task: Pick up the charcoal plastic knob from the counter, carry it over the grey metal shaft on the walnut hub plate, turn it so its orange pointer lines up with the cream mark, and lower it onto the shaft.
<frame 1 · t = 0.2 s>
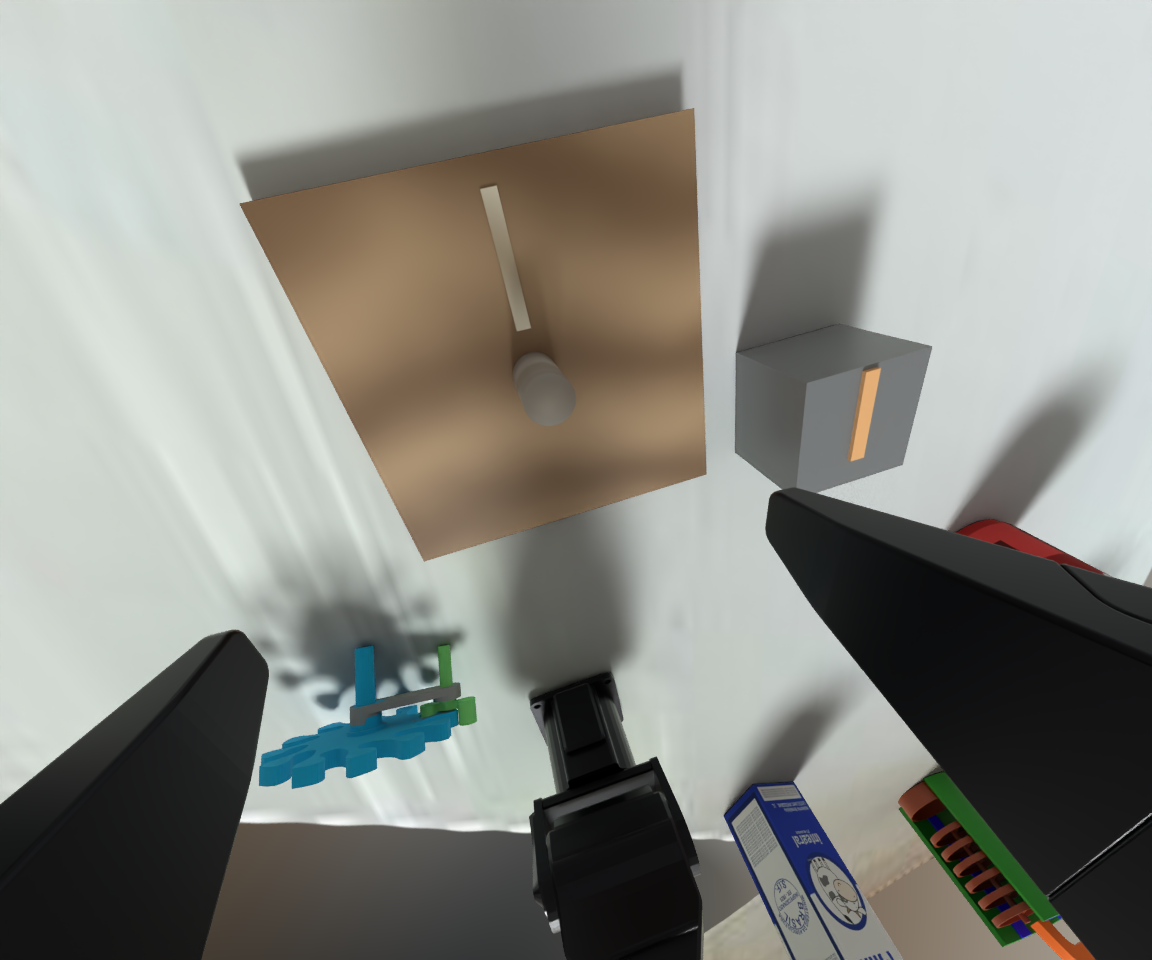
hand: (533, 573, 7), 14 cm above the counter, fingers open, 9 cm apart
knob: (784, 391, 24), on the counter
multicoloured piece: (922, 787, 67), on the counter
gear: (385, 675, 28), on the counter
milk carton: (757, 797, 53), on the counter
canned food: (961, 552, 37), on the counter
hub plate: (531, 367, 20), on the counter
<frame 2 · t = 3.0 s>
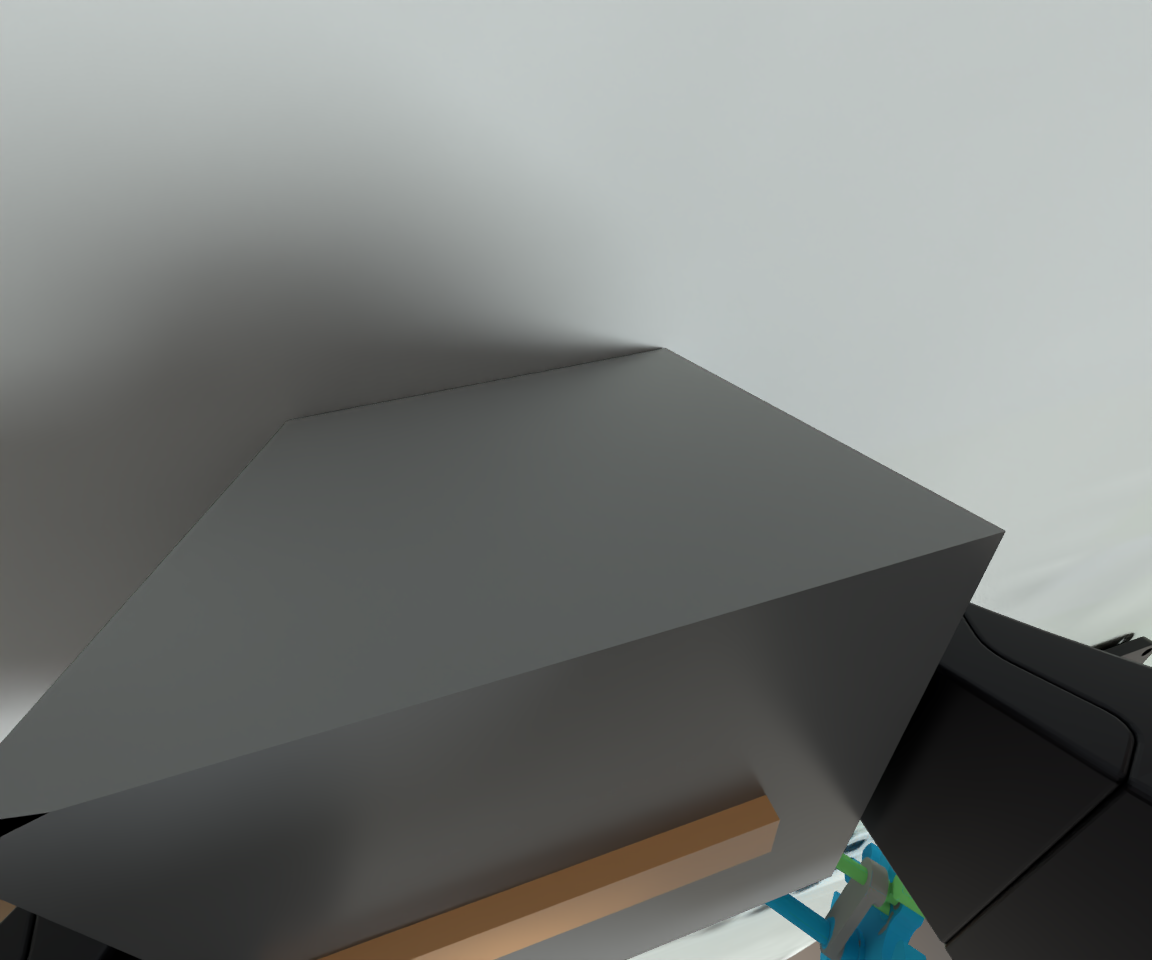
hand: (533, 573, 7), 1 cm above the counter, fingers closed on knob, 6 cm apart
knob: (523, 531, 8), on the counter, touching gripper
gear: (812, 857, 24), on the counter
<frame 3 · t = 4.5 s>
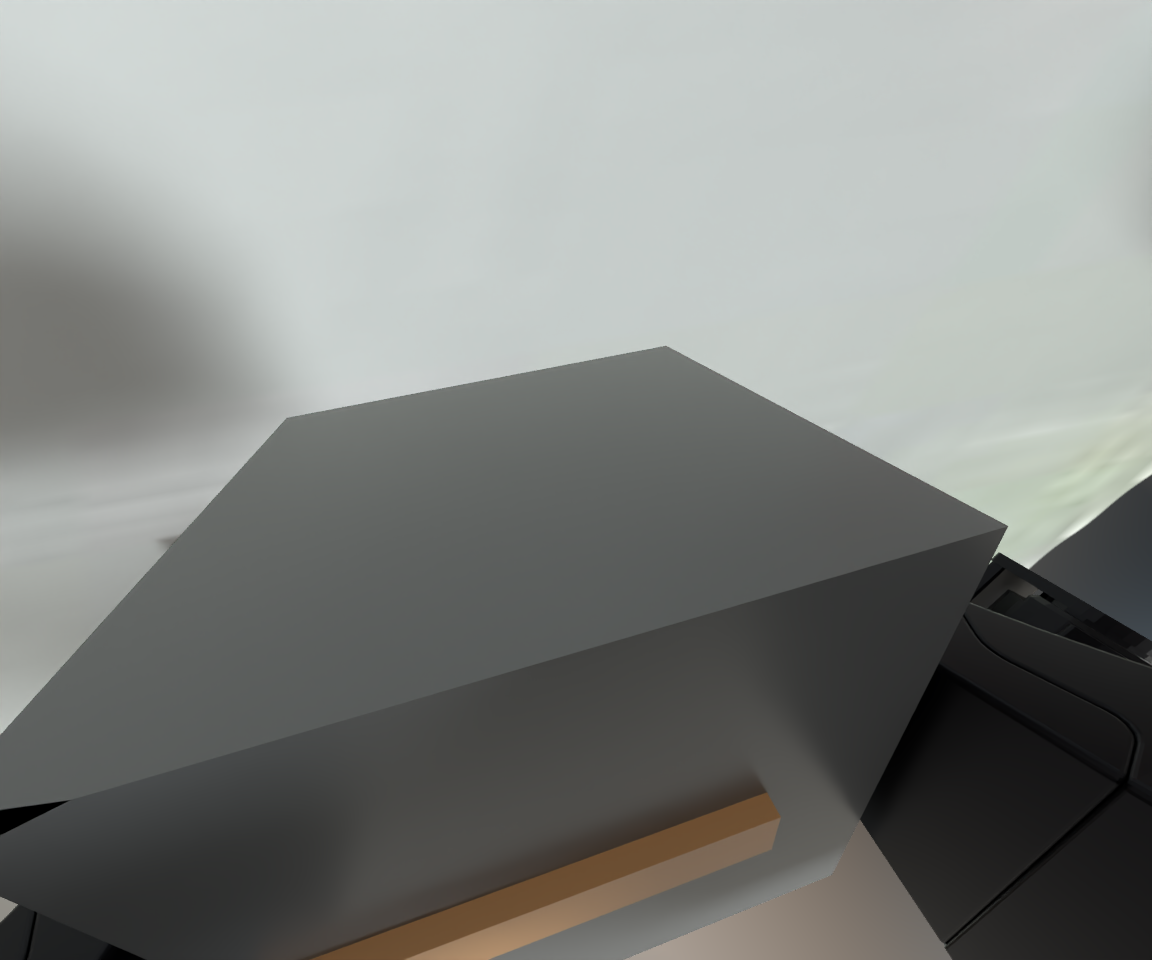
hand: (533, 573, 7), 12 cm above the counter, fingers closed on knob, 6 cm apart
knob: (523, 529, 8), point 11 cm above the counter, touching gripper
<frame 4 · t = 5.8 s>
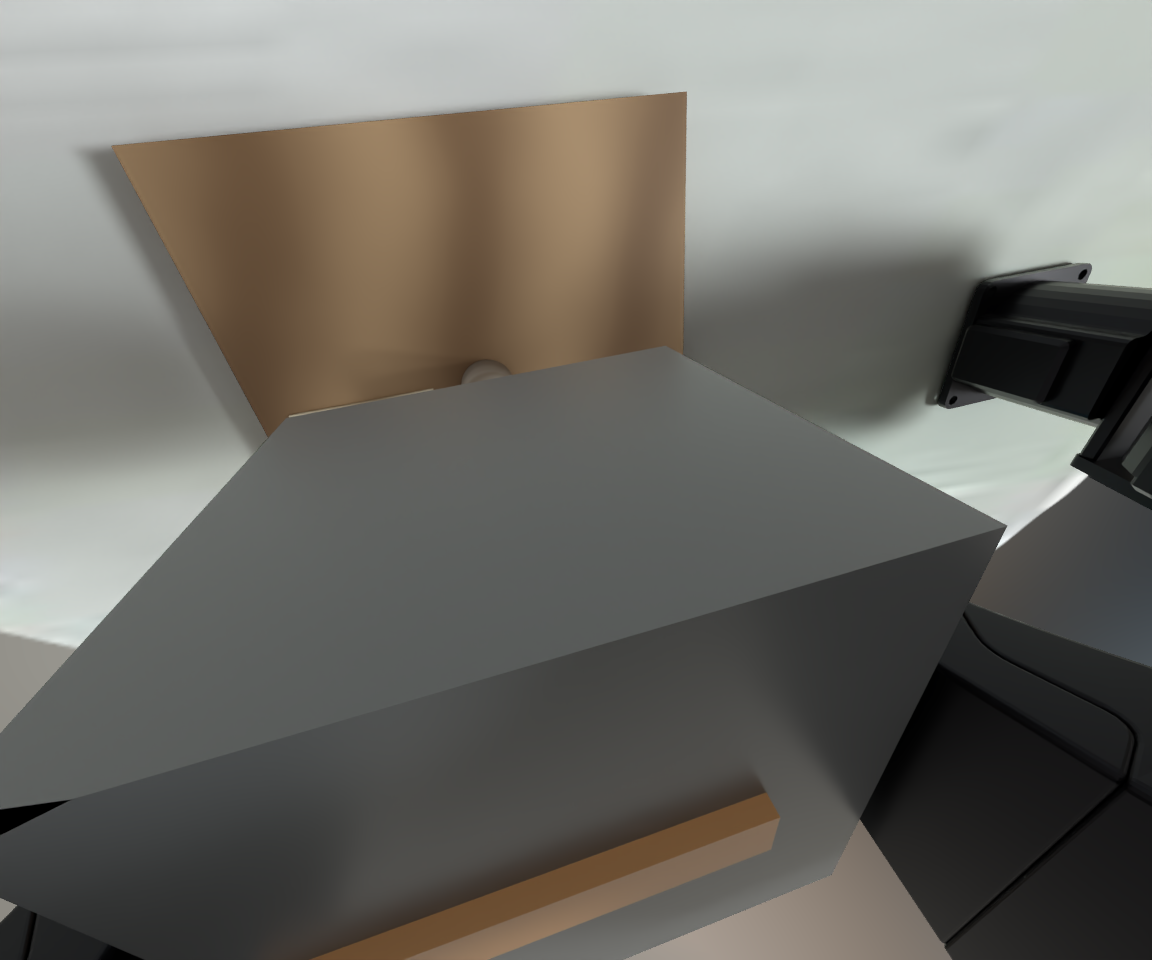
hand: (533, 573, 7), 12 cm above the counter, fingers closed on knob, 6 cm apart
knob: (522, 529, 8), point 11 cm above the counter, touching gripper
hub plate: (486, 377, 17), on the counter
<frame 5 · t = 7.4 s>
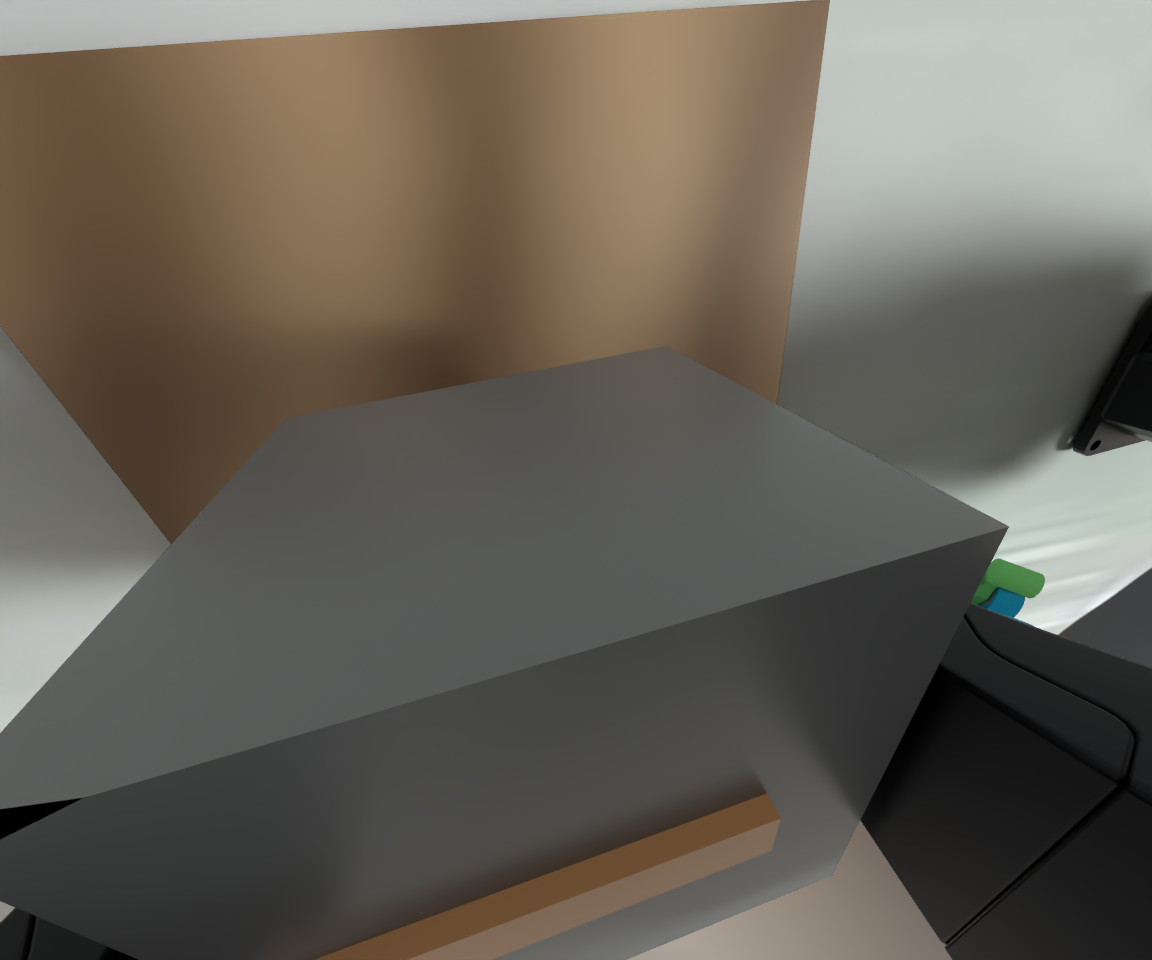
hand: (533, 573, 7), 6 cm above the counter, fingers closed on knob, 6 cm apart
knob: (522, 529, 8), point 5 cm above the counter, touching gripper
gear: (873, 608, 22), on the counter
hub plate: (498, 438, 12), on the counter
when the fingers open (3 cm above the counter, at t = 8.9 s): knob stays where it is, resting on hub plate.
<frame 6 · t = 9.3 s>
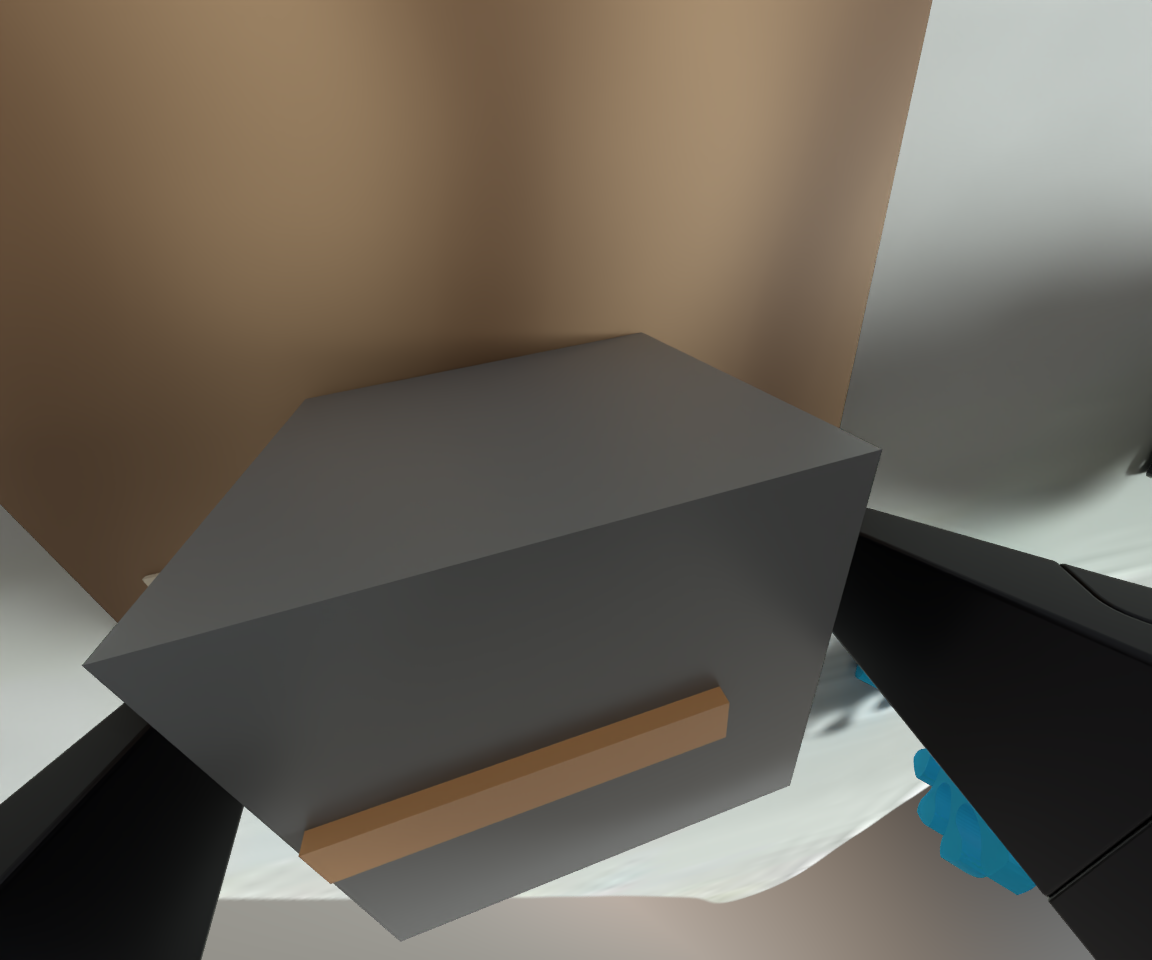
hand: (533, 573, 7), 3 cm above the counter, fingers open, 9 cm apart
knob: (517, 501, 9), point 1 cm above the counter, touching hub plate
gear: (912, 644, 20), on the counter
hub plate: (509, 476, 10), on the counter
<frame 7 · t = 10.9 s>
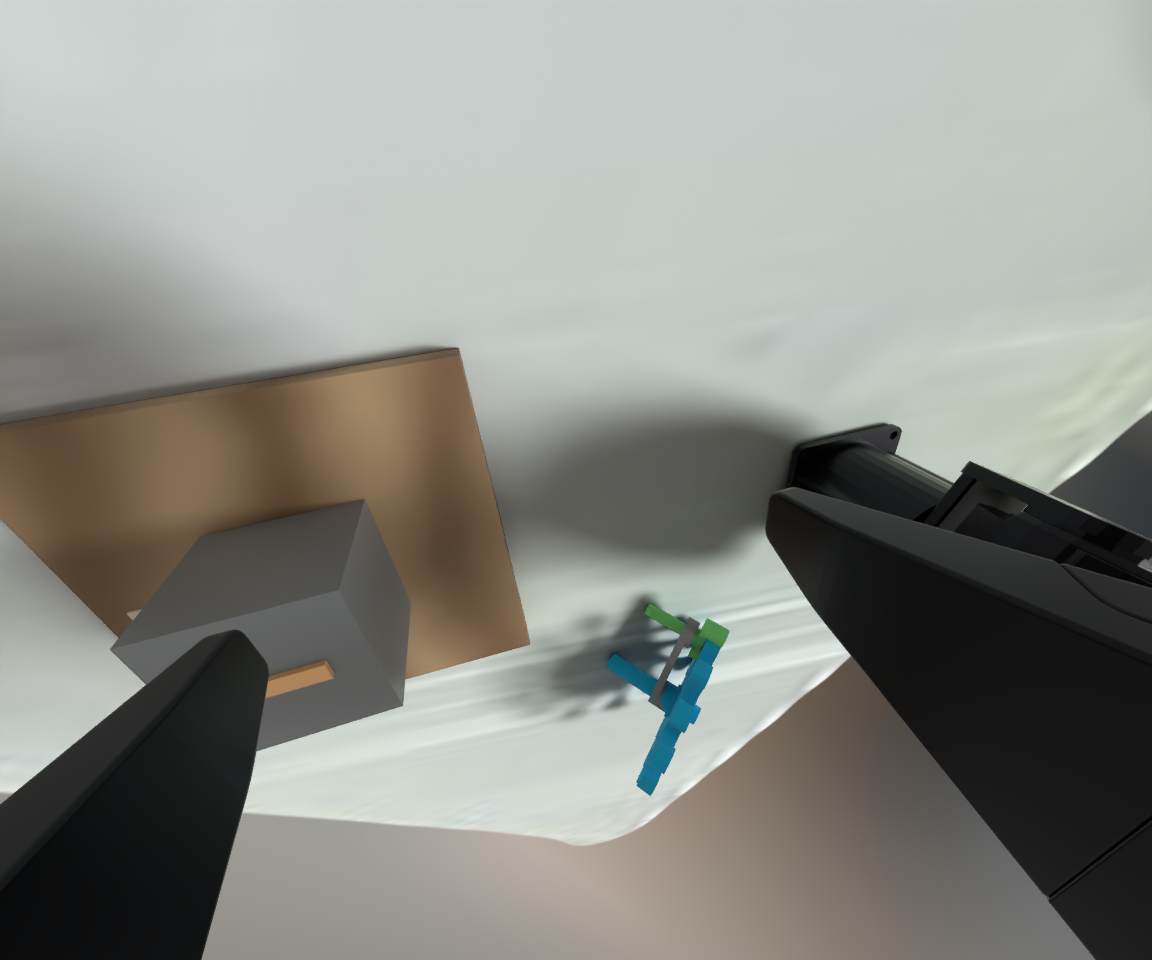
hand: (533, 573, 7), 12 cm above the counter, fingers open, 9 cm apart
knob: (317, 573, 18), point 1 cm above the counter, touching hub plate
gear: (657, 646, 29), on the counter
hub plate: (323, 556, 19), on the counter
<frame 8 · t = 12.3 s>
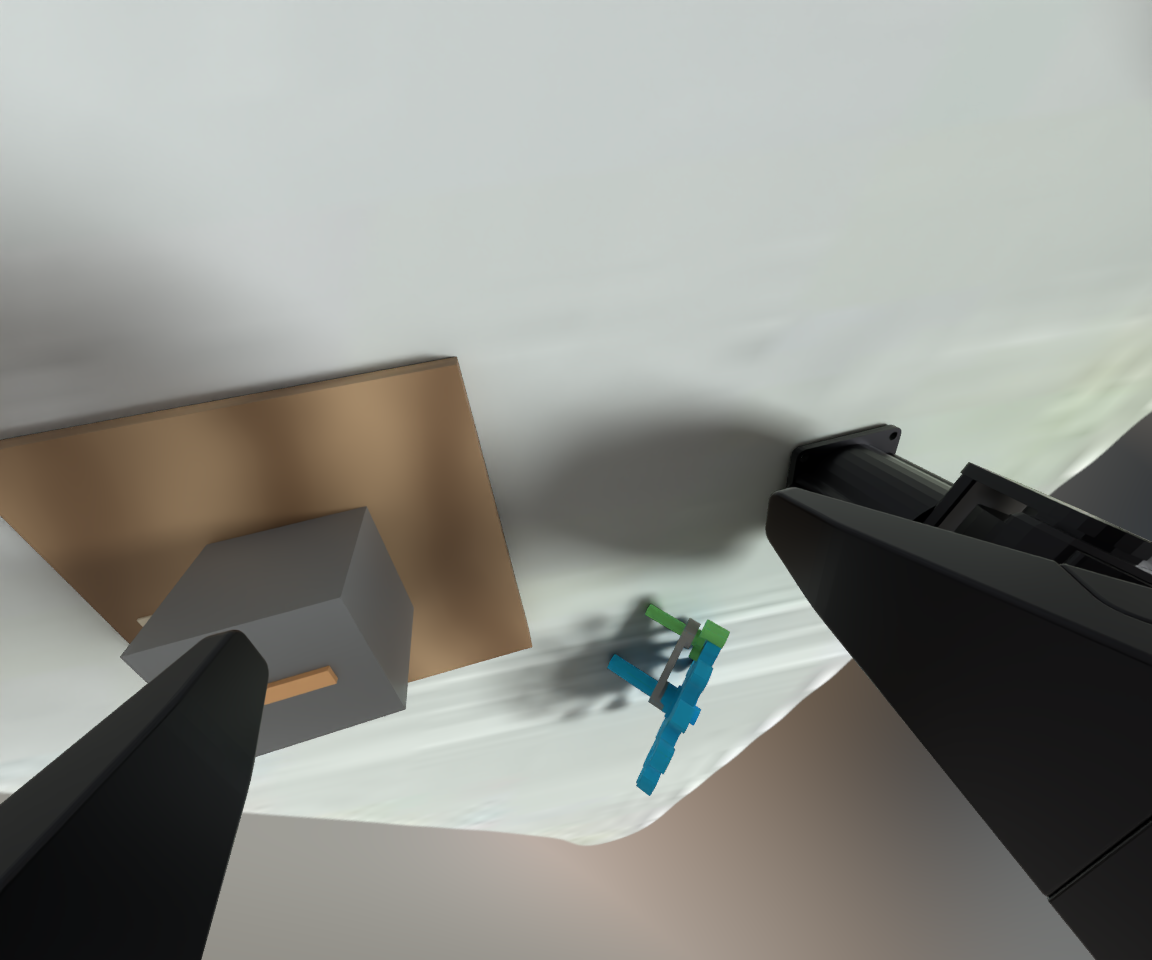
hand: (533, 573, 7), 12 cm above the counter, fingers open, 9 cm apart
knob: (321, 579, 19), point 1 cm above the counter, touching hub plate
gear: (657, 646, 29), on the counter
hub plate: (327, 562, 20), on the counter
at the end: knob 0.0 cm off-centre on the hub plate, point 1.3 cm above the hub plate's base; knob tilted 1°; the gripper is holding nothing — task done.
